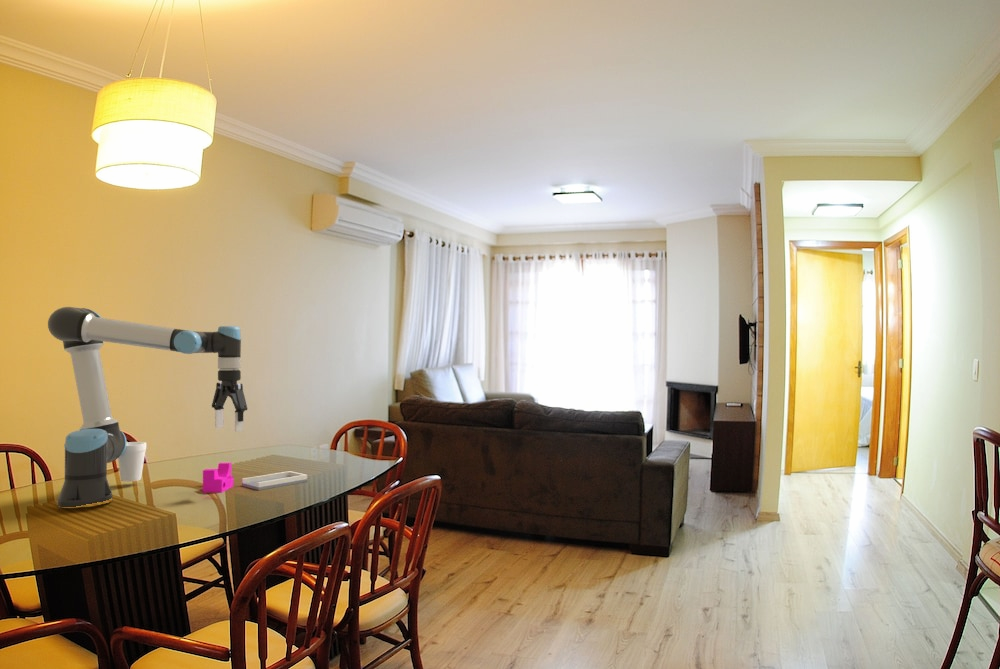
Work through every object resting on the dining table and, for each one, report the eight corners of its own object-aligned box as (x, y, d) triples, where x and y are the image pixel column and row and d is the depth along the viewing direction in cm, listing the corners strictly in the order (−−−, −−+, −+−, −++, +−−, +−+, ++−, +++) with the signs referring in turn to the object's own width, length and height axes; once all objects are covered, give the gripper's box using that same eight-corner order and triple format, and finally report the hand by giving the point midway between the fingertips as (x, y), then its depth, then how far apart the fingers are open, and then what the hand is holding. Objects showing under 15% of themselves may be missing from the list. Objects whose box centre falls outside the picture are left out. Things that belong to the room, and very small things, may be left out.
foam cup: (132, 483, 238) (133, 446, 238) (109, 481, 240) (110, 445, 240) (151, 477, 247) (152, 442, 247) (129, 476, 249) (130, 441, 249)
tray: (258, 490, 227) (259, 482, 227) (241, 485, 234) (241, 478, 234) (307, 481, 241) (307, 474, 242) (289, 477, 249) (289, 471, 249)
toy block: (221, 493, 223) (221, 470, 223) (202, 493, 223) (202, 470, 223) (238, 483, 238) (238, 462, 238) (220, 483, 238) (220, 462, 238)
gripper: (257, 370, 235) (257, 431, 234) (221, 368, 250) (221, 425, 250) (237, 370, 229) (237, 433, 228) (201, 369, 245) (201, 427, 244)
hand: (229, 429), depth 239 cm, fingers open, 13 cm apart
